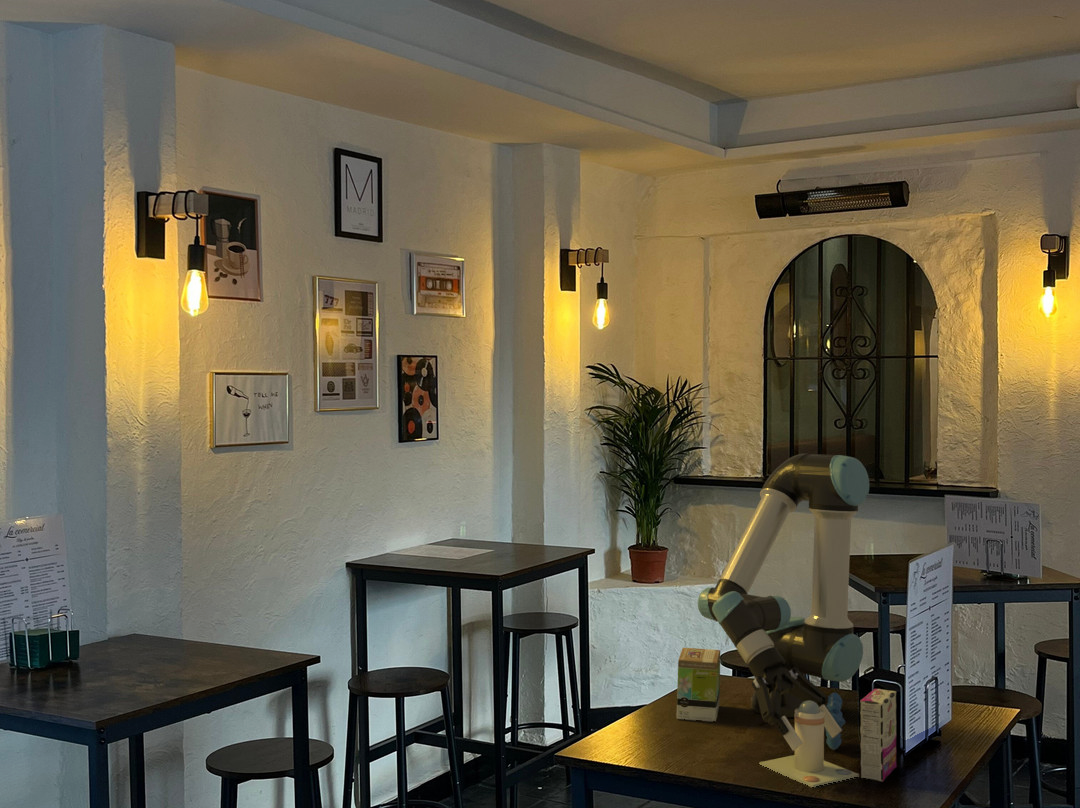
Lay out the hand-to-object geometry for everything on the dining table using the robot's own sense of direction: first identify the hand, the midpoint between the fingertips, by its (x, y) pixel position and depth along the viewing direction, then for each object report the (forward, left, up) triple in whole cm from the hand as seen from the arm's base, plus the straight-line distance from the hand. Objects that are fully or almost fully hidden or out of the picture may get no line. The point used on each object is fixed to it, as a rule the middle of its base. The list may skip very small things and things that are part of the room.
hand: (818, 740), depth 235 cm
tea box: (-7, -48, -7) cm, 49 cm away
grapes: (-16, -12, -7) cm, 21 cm away
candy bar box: (-12, +6, -7) cm, 15 cm away
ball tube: (0, -2, -6) cm, 7 cm away
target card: (0, -2, -7) cm, 7 cm away
